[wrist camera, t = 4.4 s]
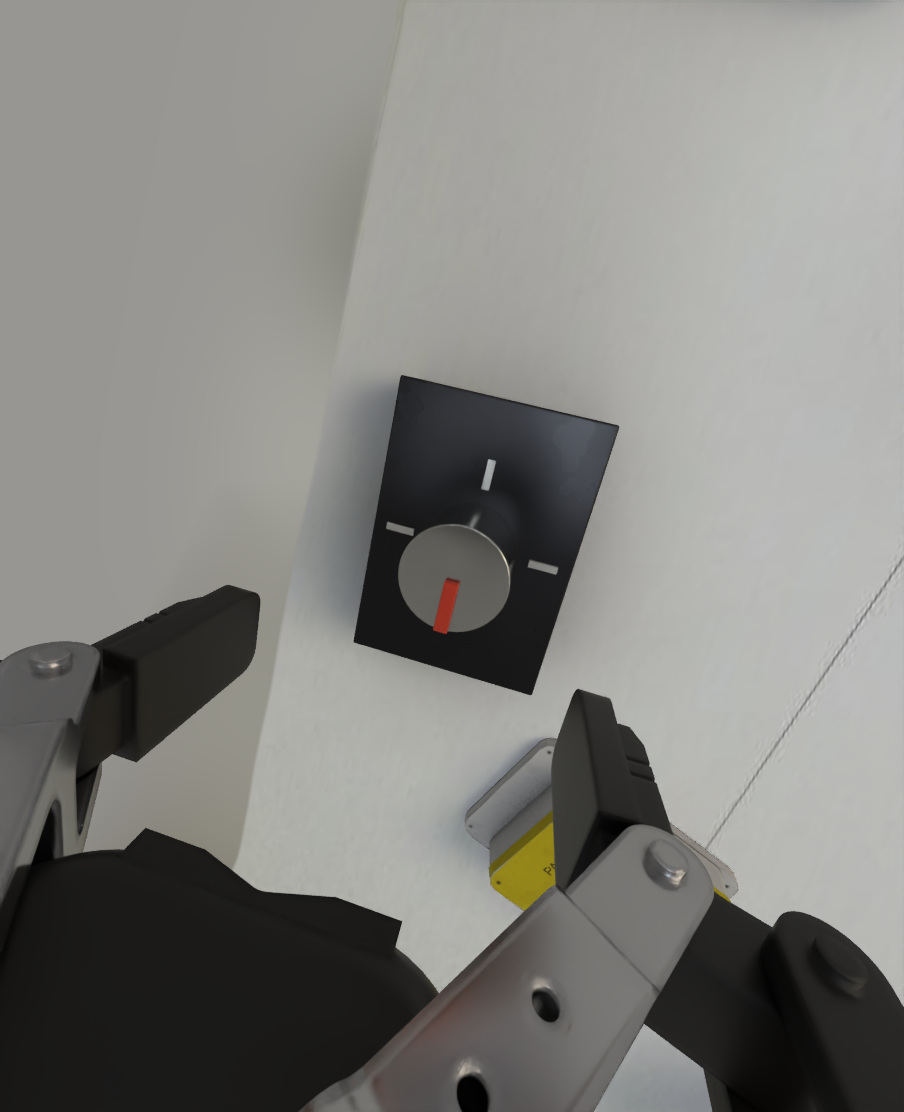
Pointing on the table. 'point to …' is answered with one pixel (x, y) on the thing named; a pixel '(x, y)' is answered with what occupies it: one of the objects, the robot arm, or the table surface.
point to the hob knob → (459, 568)
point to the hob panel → (502, 484)
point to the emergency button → (542, 832)
